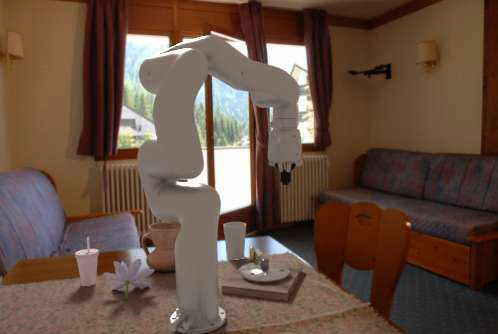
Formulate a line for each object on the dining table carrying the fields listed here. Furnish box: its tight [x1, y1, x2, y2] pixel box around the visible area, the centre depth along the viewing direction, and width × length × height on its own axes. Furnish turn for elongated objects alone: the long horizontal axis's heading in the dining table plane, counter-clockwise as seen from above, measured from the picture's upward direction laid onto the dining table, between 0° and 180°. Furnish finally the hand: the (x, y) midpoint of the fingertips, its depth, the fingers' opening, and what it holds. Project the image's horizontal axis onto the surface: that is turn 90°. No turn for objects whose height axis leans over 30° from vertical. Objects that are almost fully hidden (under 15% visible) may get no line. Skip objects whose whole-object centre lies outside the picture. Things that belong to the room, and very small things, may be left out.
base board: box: [221, 259, 304, 302], centre depth 107 cm, size 22×18×2 cm
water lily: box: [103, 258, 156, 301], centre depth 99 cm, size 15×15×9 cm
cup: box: [223, 221, 247, 261], centre depth 129 cm, size 8×8×12 cm
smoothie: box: [74, 236, 100, 287], centre depth 107 cm, size 6×6×14 cm
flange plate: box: [241, 247, 289, 284], centre depth 109 cm, size 18×14×4 cm
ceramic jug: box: [140, 221, 181, 273], centre depth 120 cm, size 18×14×14 cm
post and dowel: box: [248, 246, 270, 270], centre depth 111 cm, size 12×2×6 cm, turn 24°
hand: (285, 184), depth 114 cm, fingers closed
